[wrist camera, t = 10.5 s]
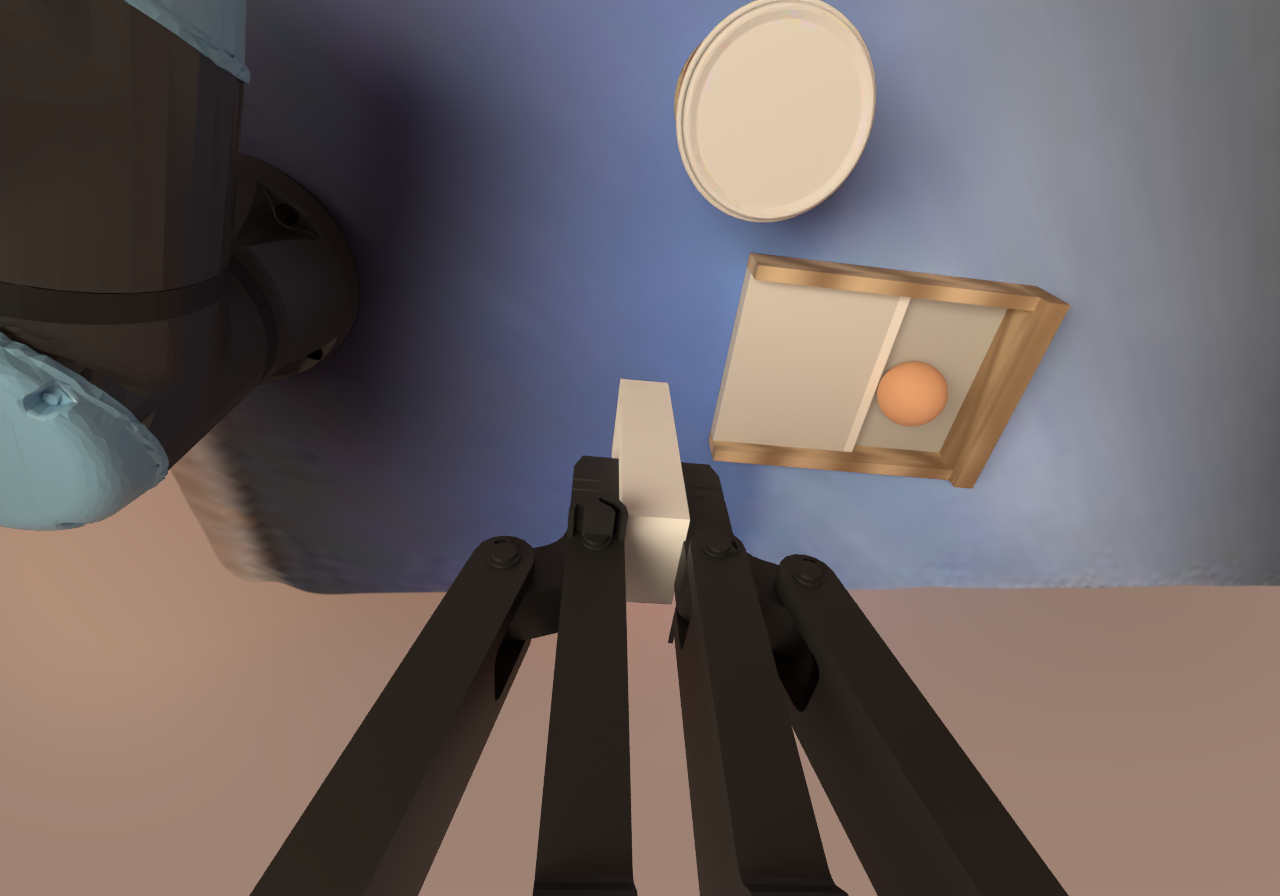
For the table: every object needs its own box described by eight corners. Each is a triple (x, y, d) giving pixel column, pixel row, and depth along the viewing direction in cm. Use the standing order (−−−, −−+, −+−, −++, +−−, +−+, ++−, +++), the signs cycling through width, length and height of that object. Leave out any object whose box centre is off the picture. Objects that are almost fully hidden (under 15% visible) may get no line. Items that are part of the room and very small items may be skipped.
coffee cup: (783, -24, 34) (854, -56, 24) (827, 141, 39) (901, 172, 29) (635, 59, 36) (644, 62, 26) (694, 207, 41) (721, 257, 31)
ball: (944, 425, 48) (889, 397, 51) (970, 370, 45) (909, 343, 48) (913, 446, 45) (856, 415, 48) (939, 389, 42) (876, 360, 45)
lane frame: (708, 440, 51) (715, 467, 48) (750, 252, 43) (761, 269, 39) (949, 461, 53) (972, 488, 50) (1036, 286, 45) (1070, 305, 41)
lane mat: (710, 430, 51) (713, 440, 50) (746, 266, 43) (750, 273, 42) (937, 450, 53) (945, 460, 52) (1010, 297, 45) (1021, 304, 44)
